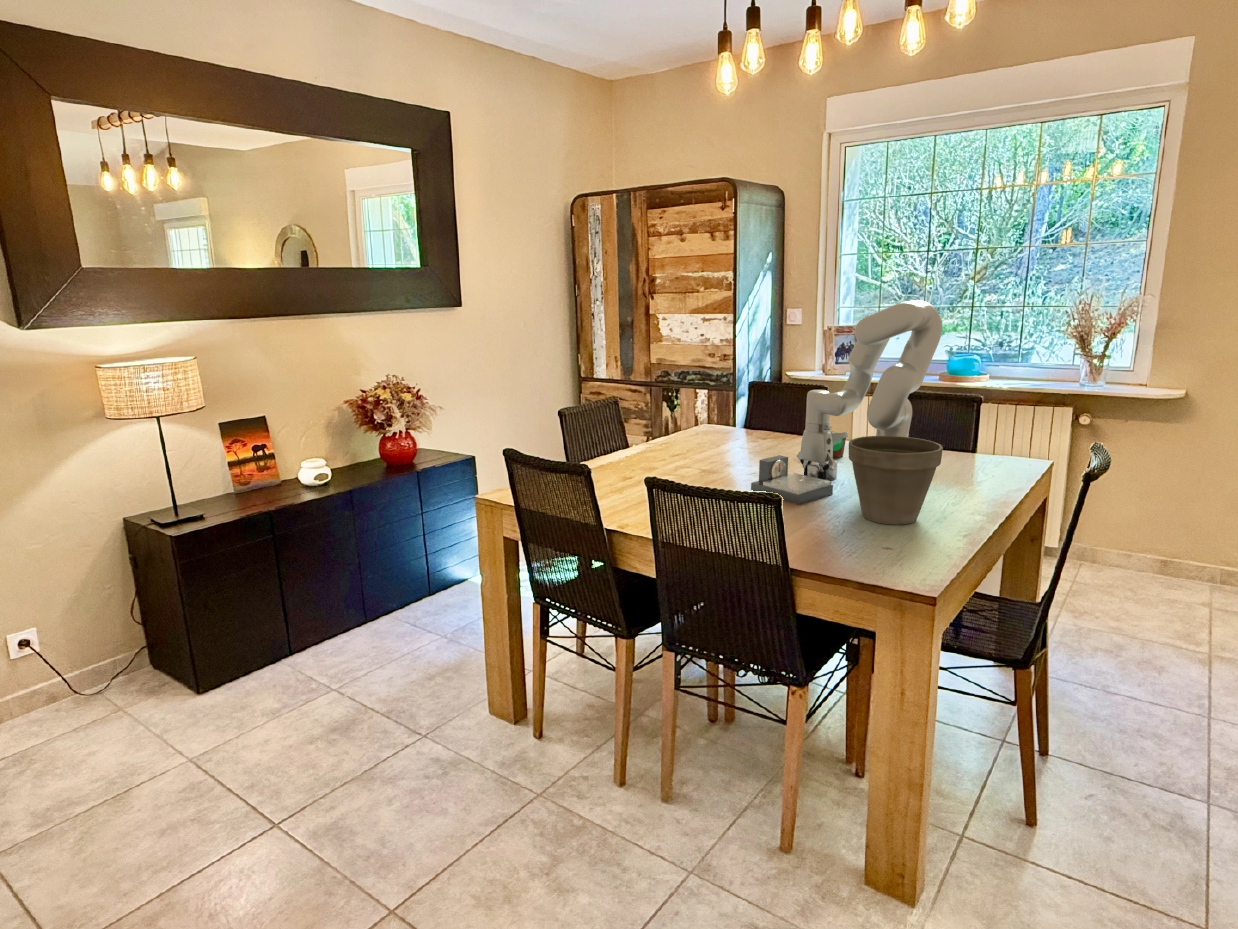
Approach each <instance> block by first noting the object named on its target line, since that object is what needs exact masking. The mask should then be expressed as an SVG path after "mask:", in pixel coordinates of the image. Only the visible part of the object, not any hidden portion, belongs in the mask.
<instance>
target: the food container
mask: <svg viewBox="0 0 1238 929" xmlns="http://www.w3.org/2000/svg"><path fill="white" fill-rule="evenodd" d="M830 432H831V436H832V443H833V459H834V460H837V459H842V458H843V457H844V452H845V447H846V440H847V438H848V437H849V435H848V434H849V433H848V430H847V431H843V432H836V431H830Z"/></svg>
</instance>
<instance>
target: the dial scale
mask: <svg viewBox="0 0 1238 929" xmlns="http://www.w3.org/2000/svg"><path fill="white" fill-rule="evenodd" d="M758 470H759V471H758V480H756V481H753V482H750V491H751V490H753V491H766V492H773V493H778V494H779V495H781V496H782V497H783V499H784V501H783V502H786V503H787V502H788V503H790V504H794V503H795V504H794V505H797V506H800V505H803V504H806V503H809V502H811V501H815V500H818V499H821V498H825V497H829V496H831V495H833V494H834V493H833V492H834V484H832V480H823V479H819V478H814V477H810V476H806V475H804V474H802V473H796V472H794V473H789V474H788V472H789V471H788V470H789V456H785V455H781V454H779V455H775V456H771V457H767V458H761V459H759V465H758Z"/></svg>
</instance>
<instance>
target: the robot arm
mask: <svg viewBox="0 0 1238 929" xmlns="http://www.w3.org/2000/svg"><path fill="white" fill-rule="evenodd" d="M907 332H911V334H910V336H909V337H908V340H907V341H906V343H905V346H904V347H903V350H902V353H901V356H900V357H899V359H898V361H897V363H895V364H893V365H890V366H889V367H887V368H886V369H885V370H884V372H883V373H882V374H881V376H880V378H879V380H878V382H877V385H876V387H875V389H874V392H873V394H872V396H871V399H870V401H869V404H868V407H867V410H866V419H867V421H868V423H869V425H870V426H871V427H873V429H876V431H875V436H900V437H909V435H910V434H909V432H910V427H911V422H912V418H913V406H912V403H911V401H910V400H909V399H908V398H909V396H910V394H912V393H914V392H916V391H917V390H919V389H920V387H921V386H922V384H923V382H924V379H925V376H926V374H927V372H928V370H929V367H930V365H931V364H932V360H933V358H934V356H935V353H936V351H937V348H938V346H939V343H940V341H941V337H942V333H943V322H942V317H941V315H940V313H939V312H938V310H937V309H936V307H935V306H933V305H932V304H931V303H929V302H927V301H924V300H920V299H918V300H917V299H916V300H906V301H902V302H899V303H896V304H894V305H891V306H888V307H887V308H885V309H882V310H880V311H877V312H874V313H872V314H870V315H867V316H864V317H863V318H862V319H860V320H859V321H858V322H857V323H856V325H855V329H854V336H855V339H856V342H855V344H854V346H853V348H852V349H851V352H850V354H849V356H848V358H847V362H848V364H849V367H850V371H849V372H850V373H849V376H848V378H847V381H846V383H845V385H844V387H842V390H839V391H836V392H830V391H828V390H826V389H812V390H811V389H810V390H809V391H808V392H807V393H806V408H805V410H806V411H805V429H804V430H803V433H802V438H801V444H800V445H801V446H800V451H799V452H798V453H797V454H796V458H797V459H798V460H799V461H800V464H801V465H802V468H803V475H806V476H807V467H808V464H810V463H819V467H820V471H819V472H818V478H819V479H823V480H826V471H827V470H828V469H829V468H830V467H831V466H833V465H834V464H835V461H834V460H835V459H833V443H832V436H831V432H832V429H833V427H832V426H830V416H833V417H841V416H844V415H847V414H850V413H852V412H854V411H856V410H857V409H858V408H859V407H860V405H861V404H862V402H863V400H864V398H865V396H866V395H867V393H868V390H869V389H870V385H871V384H872V378H873V376H874V371H875V367H876V366H877V365H878V362H879V361H880V358H881V356H882V354H883V352H884V350H885V349H886V347H887V345H888V343H889V341H890V339H891V338H894V337H896V336H899V335H901V334H904V333H907ZM827 461H829V463H828V464H827ZM823 466H824V467H823Z"/></svg>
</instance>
